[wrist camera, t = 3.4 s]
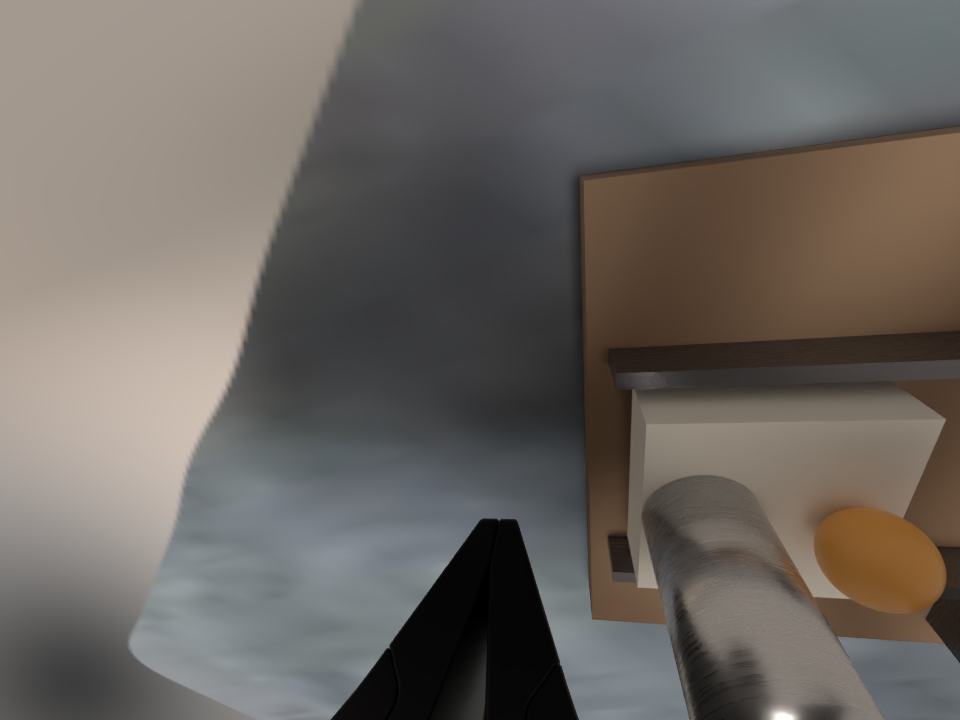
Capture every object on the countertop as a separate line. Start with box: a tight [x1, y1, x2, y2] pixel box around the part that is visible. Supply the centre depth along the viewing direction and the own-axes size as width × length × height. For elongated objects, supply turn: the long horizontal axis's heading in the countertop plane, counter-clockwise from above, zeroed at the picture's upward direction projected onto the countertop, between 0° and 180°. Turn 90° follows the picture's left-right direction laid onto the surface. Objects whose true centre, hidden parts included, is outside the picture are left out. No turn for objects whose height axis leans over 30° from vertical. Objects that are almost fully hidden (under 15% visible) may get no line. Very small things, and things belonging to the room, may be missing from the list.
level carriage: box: [627, 381, 946, 720], centre depth 8 cm, size 5×5×6 cm
